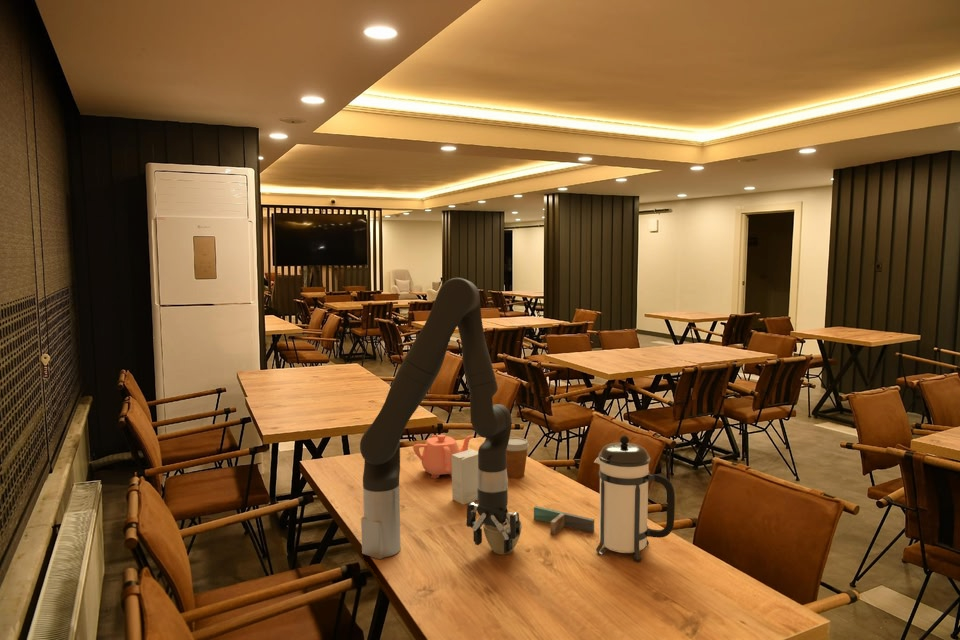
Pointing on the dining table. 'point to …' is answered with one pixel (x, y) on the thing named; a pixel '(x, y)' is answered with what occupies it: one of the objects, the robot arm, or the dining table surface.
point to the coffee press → (628, 499)
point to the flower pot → (498, 538)
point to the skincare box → (464, 476)
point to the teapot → (439, 454)
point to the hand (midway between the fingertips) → (492, 548)
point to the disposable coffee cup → (516, 457)
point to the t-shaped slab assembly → (563, 520)
